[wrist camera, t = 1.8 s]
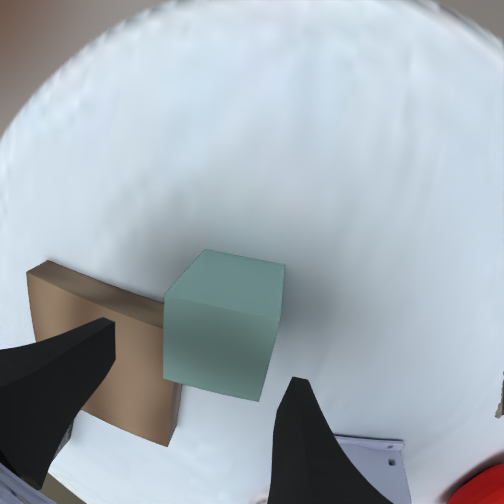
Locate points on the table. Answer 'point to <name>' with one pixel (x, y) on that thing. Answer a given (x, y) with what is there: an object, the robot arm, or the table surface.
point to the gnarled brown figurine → (501, 405)
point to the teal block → (222, 324)
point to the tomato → (482, 488)
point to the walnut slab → (127, 347)
